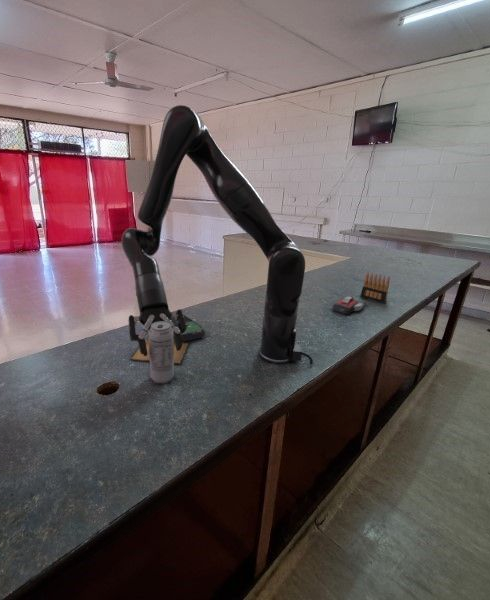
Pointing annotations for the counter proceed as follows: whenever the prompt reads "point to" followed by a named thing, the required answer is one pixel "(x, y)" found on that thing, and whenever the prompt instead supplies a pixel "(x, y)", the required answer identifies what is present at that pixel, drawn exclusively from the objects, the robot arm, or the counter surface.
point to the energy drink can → (161, 352)
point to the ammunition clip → (375, 288)
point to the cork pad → (141, 357)
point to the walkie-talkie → (348, 305)
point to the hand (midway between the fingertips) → (162, 352)
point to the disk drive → (189, 329)
